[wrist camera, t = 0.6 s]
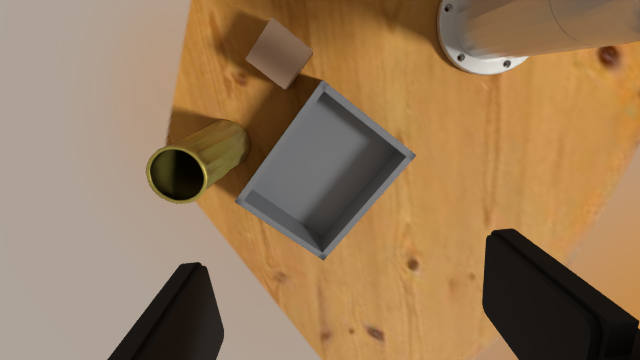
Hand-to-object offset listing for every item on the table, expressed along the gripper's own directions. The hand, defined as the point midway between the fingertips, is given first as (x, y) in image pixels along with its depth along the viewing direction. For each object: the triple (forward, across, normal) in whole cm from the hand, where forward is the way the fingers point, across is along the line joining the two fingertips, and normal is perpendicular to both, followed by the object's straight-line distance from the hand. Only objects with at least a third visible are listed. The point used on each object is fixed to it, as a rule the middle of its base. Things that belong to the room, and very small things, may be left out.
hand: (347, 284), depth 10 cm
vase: (+30, +13, 0) cm, 33 cm away
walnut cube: (+30, +4, -10) cm, 32 cm away
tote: (+30, +1, +4) cm, 30 cm away
